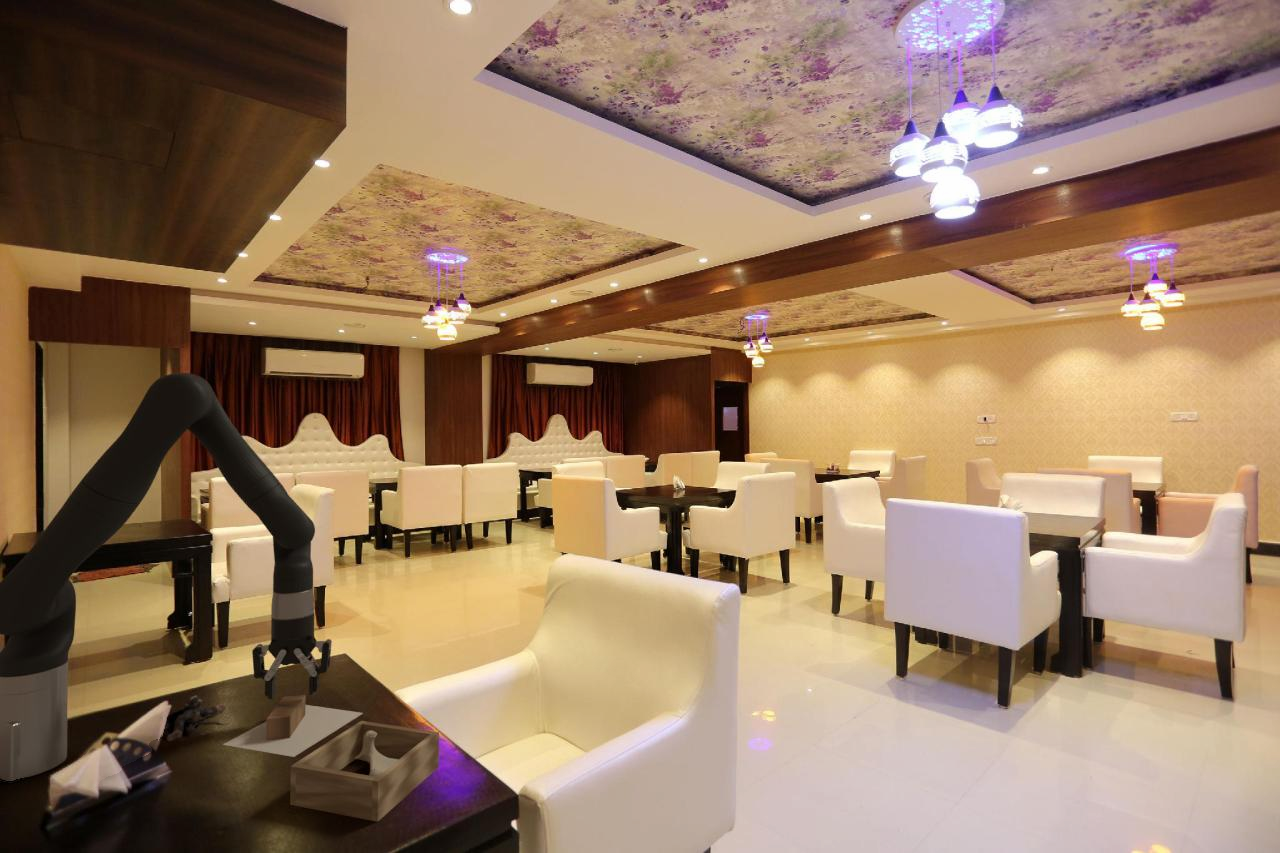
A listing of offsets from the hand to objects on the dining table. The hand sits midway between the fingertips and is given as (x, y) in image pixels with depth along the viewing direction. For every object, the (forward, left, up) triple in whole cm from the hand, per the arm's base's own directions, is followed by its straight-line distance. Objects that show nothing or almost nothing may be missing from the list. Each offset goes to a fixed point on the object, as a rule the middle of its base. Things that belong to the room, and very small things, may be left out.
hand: (292, 695), depth 125 cm
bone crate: (-14, -29, -6) cm, 33 cm away
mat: (-2, -3, -6) cm, 7 cm away
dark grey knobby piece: (-5, +18, -6) cm, 20 cm away
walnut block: (+2, +2, -3) cm, 4 cm away
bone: (-13, -31, -6) cm, 34 cm away
